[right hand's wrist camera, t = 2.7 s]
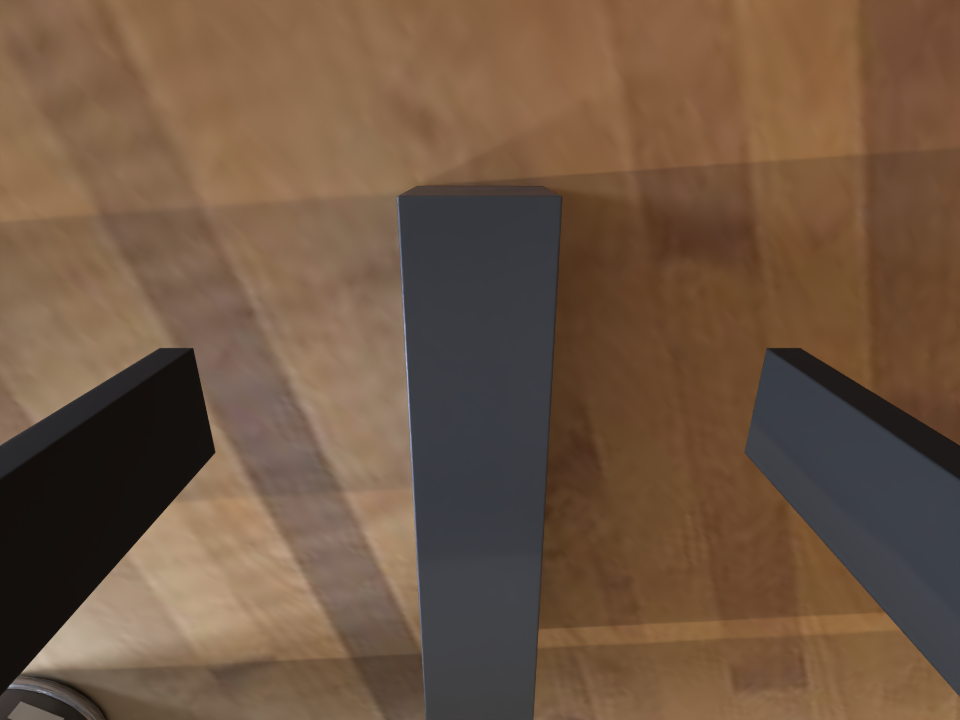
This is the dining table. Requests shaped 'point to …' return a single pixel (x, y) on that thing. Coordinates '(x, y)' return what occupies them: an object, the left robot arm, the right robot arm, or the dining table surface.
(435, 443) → the grey beam
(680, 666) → the dining table surface
